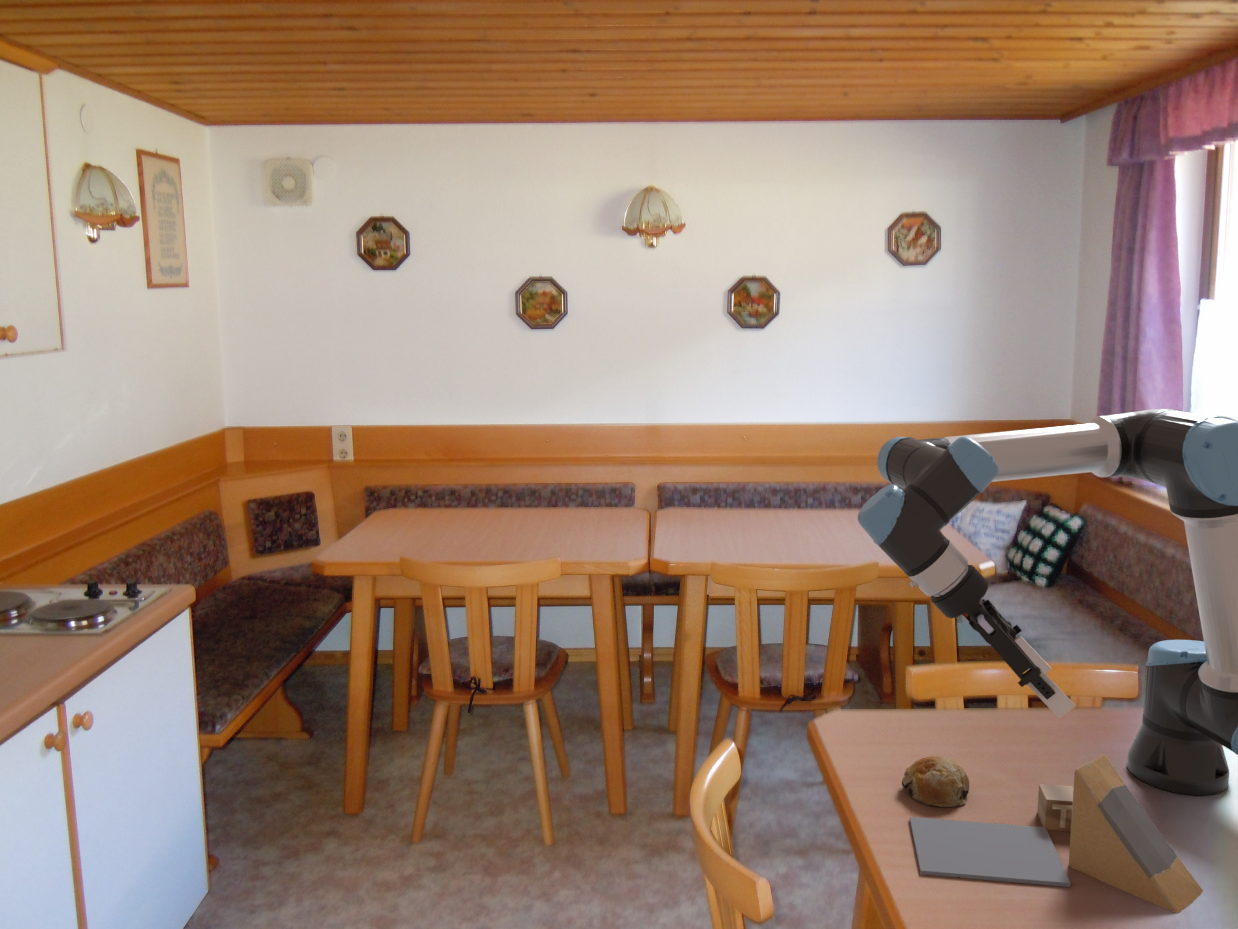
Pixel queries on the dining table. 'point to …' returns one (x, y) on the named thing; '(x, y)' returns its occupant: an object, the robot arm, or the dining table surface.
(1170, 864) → the sandwich container
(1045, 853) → the grey rubber mat
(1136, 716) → the dining table surface
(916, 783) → the bread roll
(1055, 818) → the wooden letter cube
